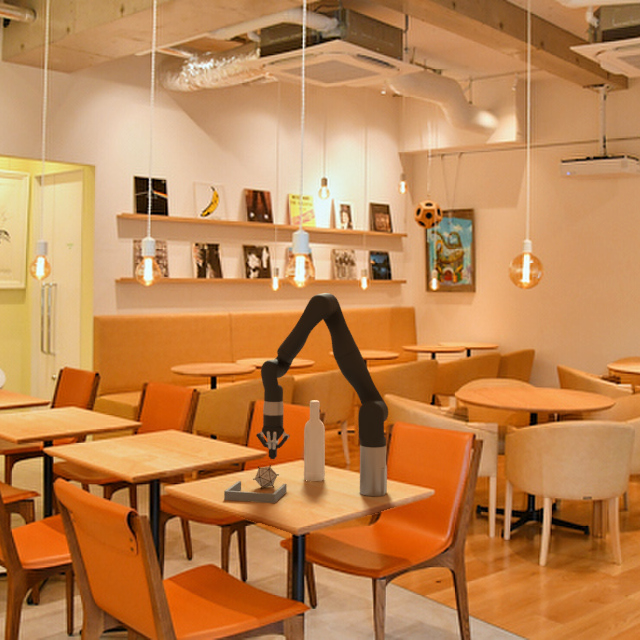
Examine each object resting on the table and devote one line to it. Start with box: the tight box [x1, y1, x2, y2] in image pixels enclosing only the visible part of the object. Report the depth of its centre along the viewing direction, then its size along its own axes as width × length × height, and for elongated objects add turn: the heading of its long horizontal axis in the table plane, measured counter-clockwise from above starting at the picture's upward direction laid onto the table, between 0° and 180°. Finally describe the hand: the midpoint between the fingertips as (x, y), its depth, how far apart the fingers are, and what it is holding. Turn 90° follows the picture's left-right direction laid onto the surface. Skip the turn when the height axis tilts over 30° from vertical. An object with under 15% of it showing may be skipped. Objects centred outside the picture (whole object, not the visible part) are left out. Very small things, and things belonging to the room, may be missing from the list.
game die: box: [252, 464, 280, 490], centre depth 305 cm, size 9×8×10 cm
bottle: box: [303, 399, 326, 482], centre depth 318 cm, size 8×8×30 cm
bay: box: [223, 480, 288, 504], centre depth 294 cm, size 18×15×3 cm
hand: (272, 458), depth 314 cm, fingers closed
